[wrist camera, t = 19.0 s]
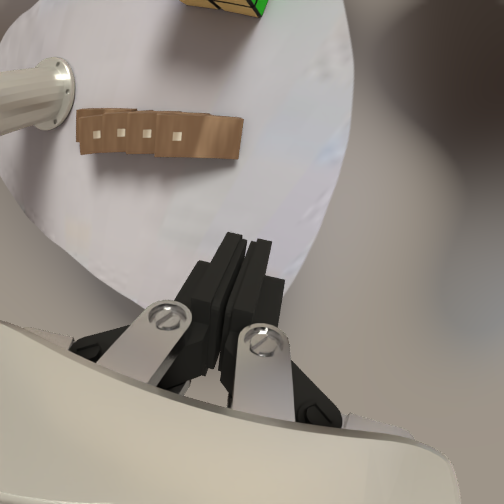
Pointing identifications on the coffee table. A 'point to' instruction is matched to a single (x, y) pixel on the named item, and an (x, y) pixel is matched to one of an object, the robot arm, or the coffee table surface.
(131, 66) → the coffee table surface
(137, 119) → the domino
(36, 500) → the robot arm
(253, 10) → the puzzle cube
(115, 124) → the domino
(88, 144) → the domino
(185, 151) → the domino
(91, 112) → the domino
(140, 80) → the coffee table surface
